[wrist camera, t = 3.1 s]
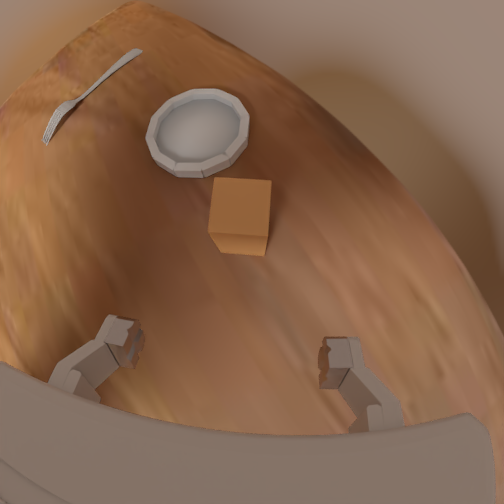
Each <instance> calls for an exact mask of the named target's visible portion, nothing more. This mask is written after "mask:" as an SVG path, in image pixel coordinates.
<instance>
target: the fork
mask: <svg viewBox="0 0 504 504" xmlns="http://www.w3.org/2000/svg"><path fill="white" fill-rule="evenodd" d="M142 52H143V51H142V50H140V49H137V48H135V49H133V50H131V51H129V52H128V53H126V54H125V55H124V56H123V57H122V58H120V59H119V60H118V61H117V62H116V63H115V64H114V65H113V66H112V67H111V68H110V69H109V70H108V71H107V72H106V73H105V74H104V75H103V76H102V77H101V78H100V79H99V80H98V81H97V82H96V83H95V84H94V85H92V86H91V87H90V88H89V89H88V90H87V91H86V92H85V93H84V94H83V95H82V96H80V97H79V98H77V99H75V100H70V101H66V102H64V103H63V104H61V105H60V106H59V107H58V108H57V109H56V110H55V112H54V114H53V116H52V117H51V119H50V121H49V124H48V126H47V128H46V131H45V133H44V136H43V139H42V141H43V140H44V142H45V143H46V142H47V144H48V143H49V140H50V138H51V136H52V134H53V132H54V130H55V128H56V126H57V124H58V123H59V121H60V120H61V118H62V117H63V115H64V114H65V113H66V112H68V111H69V110H70V109H71V108H73V107H74V106H75V105H76V103H77V102H78V101H80V100H81V99H83V98H84V97H85V96H87V95H88V94H89V93H90V92H91V91H92V90H94V89H95V88H96V87H97V86H98V85H99V84H100V83H101V82H102V81H104V80H105V79H106V78H107V77H108V76H110V75H111V74H112V73H113V72H115V71H116V70H118V69H119V68H120V67H122V66H123V65H124V64H126V63H127V62H129V61H130V60H132V59H133V58H135V57H136V56H138V55H139V54H141V53H142ZM54 120H55V121H54ZM56 121H57V122H56ZM53 122H54V123H53ZM50 124H51V125H50ZM52 124H53V125H52ZM49 126H50V127H49ZM51 126H52V127H51ZM48 128H49V129H48ZM50 128H51V129H50ZM52 129H53V130H52ZM47 130H48V131H47ZM51 131H52V132H51ZM46 132H47V134H46ZM48 133H49V134H48ZM50 133H51V134H50ZM45 135H46V136H45ZM47 135H48V136H47ZM49 135H50V136H49ZM44 137H45V139H44ZM46 137H47V139H46ZM48 137H49V139H48ZM45 140H46V141H45ZM47 140H48V141H47ZM44 142H43V143H44ZM47 144H46V146H47Z"/></svg>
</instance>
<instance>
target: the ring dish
mask: <svg viewBox="0 0 504 504" xmlns="http://www.w3.org/2000/svg"><path fill="white" fill-rule="evenodd" d="M249 127H250V116H249V114H248V112H247V111H246V109H245V108H244V106H243V105H242V103H241V102H240V100H239V99H238V98H237V97H235V96H233V95H231V94H228V93H226V92H224V91H222V90H219V89H193V90H192V89H191V90H189V91H186V92H184V93H181V94H179V95H177V96H175V97H172V98H170V99H169V100H167V101H166V102H165V103H164V104H163V105H162V106H161V107H160V108H159V109H158V110H157V111H156V112H155V114H154V115H153V116H152V117H151V120H150V123H149V127H148V130H147V134H146V137H145V139H146V141H147V144H148V147H149V150H150V153H151V155H152V158H153V159H154V161H155V162H156V164H157V165H158V166H160V167H161V168H163V169H165V170H166V171H168V172H169V173H171V174H173V175H174V176H176V177H189V178H204V176H205V178H206V177H208V176H210V175H212V174H214V173H217V172H219V171H221V170H223V169H226V168H228V167H230V165H231V166H232V164H233V163H234V162H235V161H236V159H237V158H238V157H239V156H240V154H241V153H242V152H243V151H244V150H245V148H246V147H247V145H248V137H249Z"/></svg>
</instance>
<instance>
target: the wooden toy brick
mask: <svg viewBox="0 0 504 504" xmlns="http://www.w3.org/2000/svg"><path fill="white" fill-rule="evenodd" d="M271 182H272V181H271V180H257V179H241V178H222V177H214V184H213V192H212V200H211V208H210V216H209V224H208V233H209V235H210V236H211V238H212V239H213V241H214V242H215V244H216V245H217V247H218V248H219V250H220V251H221V253H231V254H244V255H257V256H264V255H265V250H266V245H267V239H268V230H269V215H270V199H271Z"/></svg>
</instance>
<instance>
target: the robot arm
mask: <svg viewBox="0 0 504 504" xmlns="http://www.w3.org/2000/svg"><path fill="white" fill-rule="evenodd" d="M140 325H141V324H140V322H139V320H136V319H131V318H126V317H121V316H116V315H111V314H109V315H108V316H107V317H106V319H105V320H104V322H103V324H102V326H101V328H100V330H99V332H98V334H97V336H96V337H95V339H94V340H90V341H89V342H87V343H86V344H84V345H83V346H82V347H80V348H79V349H77V350H76V351H74V352H73V353H71V354H70V355H68V356H67V357H65V358H64V359H62V360H61V361H59V362H58V363H57V365H56V367H55V369H54V371H53V373H52V375H51V377H50V379H49V381H48V383H45V382H43V381H41V380H39V379H37V378H35V377H32V376H30V375H28V374H26V373H24V372H22V371H20V370H18V369H16V368H14V367H13V366H11V365H9V364H7V363H5V362H3V361H0V504H495V498H496V479H495V464H494V456H493V449H492V443H491V438H490V434H489V431H488V429H487V428H486V427H485V426H484V425H483V424H482V423H481V422H480V421H479V420H478V419H477V418H476V417H474V416H473V415H472V414H471V413H467V412H466V413H461V414H457V415H454V416H450V417H446V418H442V419H438V420H434V421H429V422H425V423H420V424H415V425H410V426H405V425H404V420H403V414H402V409H401V404H400V401H399V400H398V399H397V398H396V397H395V396H394V394H393V393H392V392H391V391H390V390H389V389H388V388H387V387H386V386H385V385H384V384H383V383H382V382H381V381H380V380H379V378H378V377H377V376H376V375H375V374H374V373H373V372H372V371H371V370H370V369H369V368H365V364H364V359H363V354H362V349H361V344H360V339H359V338H358V337H324V338H323V341H322V344H323V346H322V347H321V348H320V350H319V354H318V368H319V369H320V370H321V372H320V374H319V387H320V389H338V391H339V392H340V394H341V395H342V397H343V398H344V399H345V401H346V402H347V404H348V405H349V407H350V408H351V409H352V411H353V412H354V414H355V415H356V416H357V419H356V420H355V421H354V423H353V424H352V425H351V426H350V427H349V428H348V429H349V433H348V434H332V435H268V434H252V433H240V432H230V431H221V430H214V429H206V428H200V427H194V426H188V425H182V424H177V423H172V422H167V421H162V420H158V419H153V418H149V417H145V416H141V415H137V414H133V413H130V412H126V411H123V410H119V409H116V408H112V407H109V406H106V405H103V404H100V400H101V398H100V396H99V395H98V393H97V392H96V391H95V389H96V388H97V387H98V386H99V385H100V384H101V383H102V382H103V381H104V380H106V379H107V378H108V377H109V376H110V375H111V374H112V373H113V372H114V371H115V370H117V369H118V368H119V366H122V367H127V368H132V369H135V368H136V365H137V363H138V360H139V355H138V353H139V352H140V351H142V349H143V347H144V342H145V336H144V332H143V331H142V330H141V329H140Z"/></svg>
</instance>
